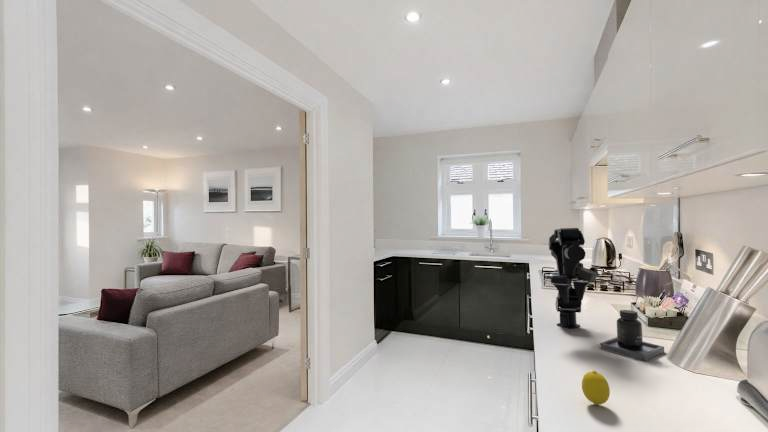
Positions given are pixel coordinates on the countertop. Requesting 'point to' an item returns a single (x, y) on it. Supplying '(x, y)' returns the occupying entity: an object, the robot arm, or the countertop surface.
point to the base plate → (644, 354)
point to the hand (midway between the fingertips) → (573, 301)
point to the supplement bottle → (629, 331)
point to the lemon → (595, 388)
